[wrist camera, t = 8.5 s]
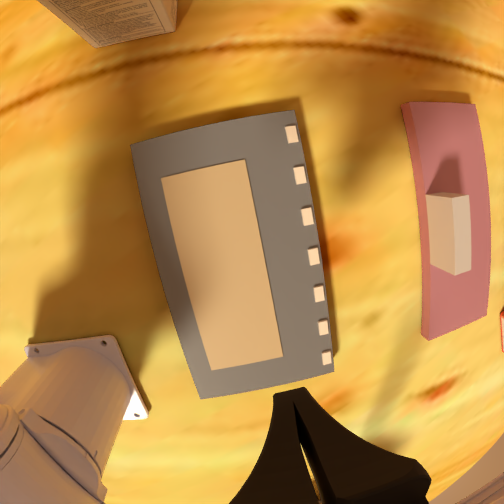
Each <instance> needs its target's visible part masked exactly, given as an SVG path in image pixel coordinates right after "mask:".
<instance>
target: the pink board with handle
mask: <svg viewBox="0 0 504 504" xmlns="http://www.w3.org/2000/svg"><path fill="white" fill-rule="evenodd" d="M401 109H402V113H403V118H404V122H405V127H406V132H407V137H408V142H409V148H410V154H411V160H412V166H413V172H414V179H415V187H416V195H417V204H418V214H419V225H420V238H421V257H422V328H421V335H422V336H423V337H425V338H426V339H427V340H428V341H429V340H432V339H434V338H437V337H439V336H442V335H444V334H446V333H449V332H451V331H453V330H456V329H458V328H460V327H462V326H465V325H467V324H469V323H471V322H473V321H476V320H478V319H480V318H482V317H484V316H486V315H487V307H488V296H489V284H490V264H491V220H490V200H489V188H488V177H487V169H486V161H485V154H484V147H483V141H482V135H481V130H480V125H479V120H478V115H477V110H476V106H475V104H466V103H446V102H407V103H405V104H402V105H401Z"/></svg>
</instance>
